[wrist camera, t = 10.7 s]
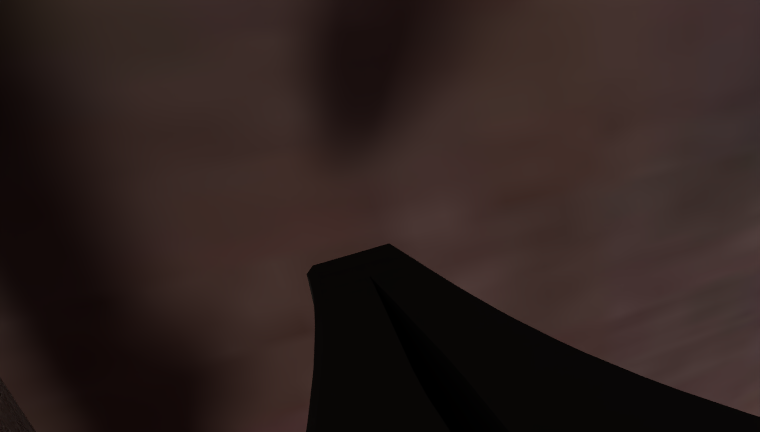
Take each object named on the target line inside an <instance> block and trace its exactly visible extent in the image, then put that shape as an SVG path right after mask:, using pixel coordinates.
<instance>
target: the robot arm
mask: <svg viewBox="0 0 760 432" xmlns="http://www.w3.org/2000/svg"><path fill="white" fill-rule="evenodd" d="M307 277H308V281H309V286H310V290H311V294H312V299H313V303H314V312H315V346H314V369H313V380H312V388H311V397H310V406H309V415H308V423H307V430H306V432H760V417H758V416H755V415H752V414H749V413H746V412H743V411H740V410H737V409H734V408H731V407H728V406H725V405H722V404H719V403H716V402H713V401H710V400H707V399H704V398H701V397H698V396H695V395H692V394H689V393H686V392H683V391H680V390H678V389H675V388H672V387H670V386H667V385H664V384H661V383H659V382H656V381H653V380H651V379H648V378H645V377H643V376H640V375H638V374H635V373H633V372H630V371H628V370H626V369H623V368H621V367H618V366H616V365H614V364H611V363H609V362H606V361H604V360H601V359H599V358H597V357H594V356H592V355H589V354H587V353H585V352H582V351H580V350H578V349H576V348H574V347H571V346H569V345H567V344H565V343H563V342H560V341H558V340H556V339H554V338H552V337H550V336H548V335H546V334H544V333H542V332H540V331H538V330H536V329H534V328H532V327H530V326H528V325H526V324H524V323H522V322H520V321H518V320H516V319H514V318H512V317H510V316H509V315H507V314H505V313H503V312H501V311H499V310H497V309H496V308H494V307H492V306H490V305H489V304H487V303H485V302H484V301H482V300H480V299H478V298H477V297H475V296H473V295H471V294H470V293H468V292H466V291H464V290H463V289H461V288H459V287H458V286H456V285H454V284H453V283H451V282H450V281H448V280H446V279H445V278H443V277H442V276H440V275H438V274H437V273H435V272H433V271H432V270H430V269H429V268H427V267H426V266H424V265H422V264H421V263H419V262H418V261H416V260H415V259H413V258H411V257H410V256H408V255H407V254H405V253H404V252H402V251H400V250H399V249H397V248H396V247H394V246H392V245H391V244H386V245H382V246H379V247H375V248H372V249H369V250H365V251H362V252H358V253H355V254H351V255H348V256H344V257H341V258H338V259H334V260H331V261H327V262H324V263H320V264H317V265H313V266H312V268H311V269H310V270H309V272H308V273H307Z"/></svg>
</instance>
